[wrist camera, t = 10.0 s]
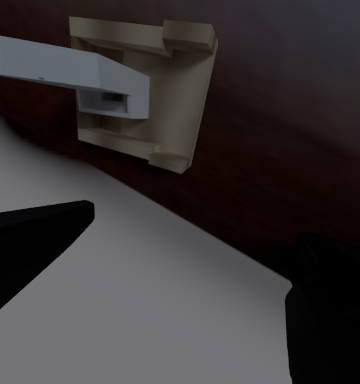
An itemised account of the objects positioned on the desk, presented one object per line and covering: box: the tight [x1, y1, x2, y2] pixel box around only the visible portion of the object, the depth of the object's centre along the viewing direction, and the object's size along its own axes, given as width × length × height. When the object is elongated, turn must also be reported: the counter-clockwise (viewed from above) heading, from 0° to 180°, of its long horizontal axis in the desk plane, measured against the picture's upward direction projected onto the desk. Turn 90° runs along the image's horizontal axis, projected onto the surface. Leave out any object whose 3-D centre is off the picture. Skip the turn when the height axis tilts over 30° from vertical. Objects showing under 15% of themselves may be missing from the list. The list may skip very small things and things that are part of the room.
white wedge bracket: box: [0, 36, 150, 119], centre depth 15 cm, size 4×10×9 cm, turn 83°
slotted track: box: [69, 17, 218, 174], centre depth 17 cm, size 12×11×4 cm
